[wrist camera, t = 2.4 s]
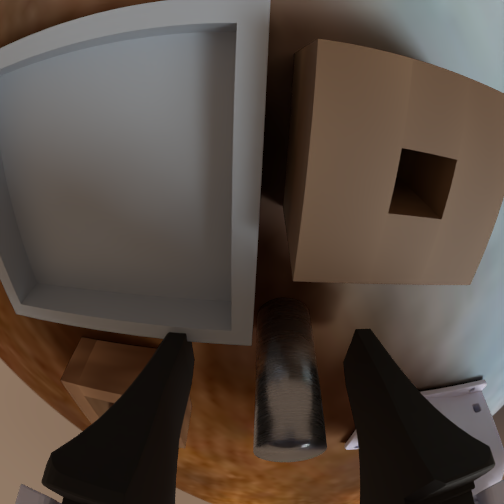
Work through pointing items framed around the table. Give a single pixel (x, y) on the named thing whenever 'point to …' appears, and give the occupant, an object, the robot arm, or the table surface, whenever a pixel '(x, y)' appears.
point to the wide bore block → (107, 376)
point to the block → (389, 168)
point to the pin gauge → (287, 385)
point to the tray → (136, 169)
